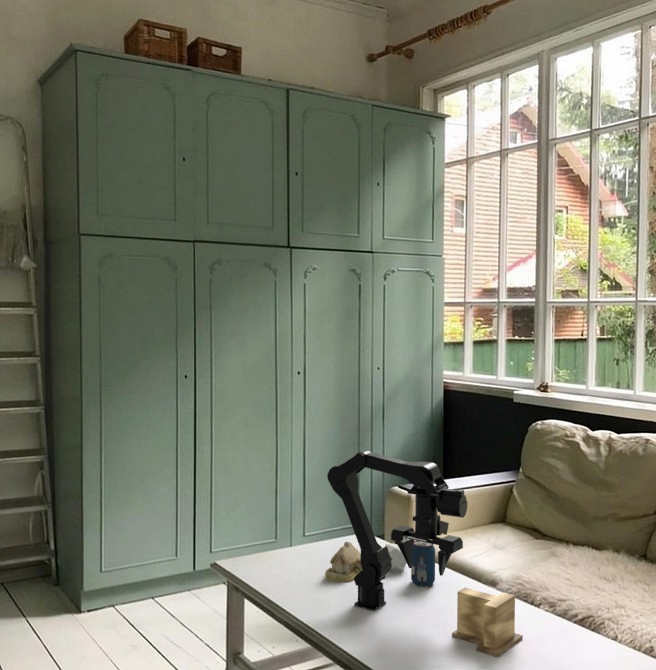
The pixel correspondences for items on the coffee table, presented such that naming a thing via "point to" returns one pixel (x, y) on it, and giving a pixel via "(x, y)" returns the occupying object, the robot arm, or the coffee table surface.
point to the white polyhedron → (396, 557)
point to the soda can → (423, 564)
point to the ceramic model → (344, 564)
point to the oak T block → (486, 616)
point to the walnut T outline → (487, 650)
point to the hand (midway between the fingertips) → (425, 571)
